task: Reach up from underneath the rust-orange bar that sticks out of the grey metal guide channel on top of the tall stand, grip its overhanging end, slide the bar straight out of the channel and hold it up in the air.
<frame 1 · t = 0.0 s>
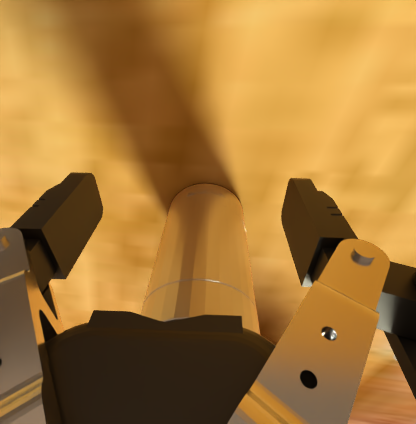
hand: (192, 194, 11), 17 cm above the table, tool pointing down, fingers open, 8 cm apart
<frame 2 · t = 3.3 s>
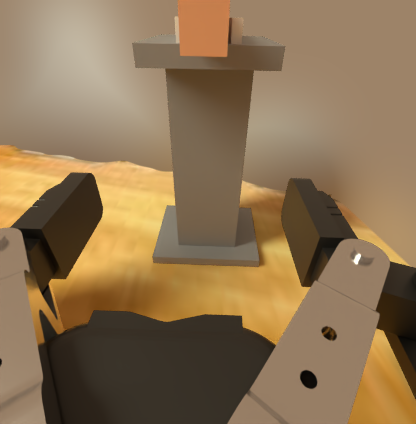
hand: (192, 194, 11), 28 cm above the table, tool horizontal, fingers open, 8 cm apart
bar: (209, 42, 25), point 32 cm above the table, touching stand
stand: (207, 240, 49), on the table
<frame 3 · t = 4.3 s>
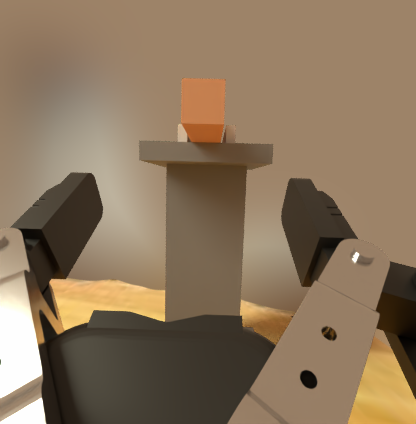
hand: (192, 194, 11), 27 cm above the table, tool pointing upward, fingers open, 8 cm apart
bar: (206, 145, 29), point 32 cm above the table, touching stand
stand: (201, 368, 39), on the table
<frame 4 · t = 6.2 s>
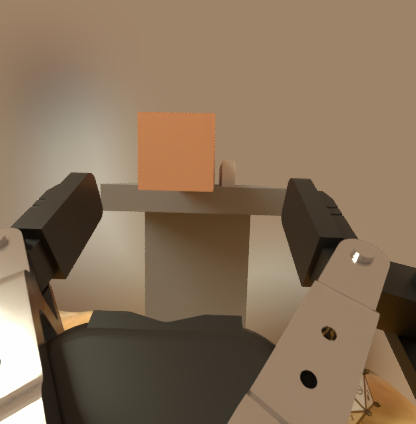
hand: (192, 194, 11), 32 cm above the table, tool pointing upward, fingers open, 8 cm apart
bar: (195, 185, 21), point 32 cm above the table, touching stand
game die: (338, 418, 37), on the table
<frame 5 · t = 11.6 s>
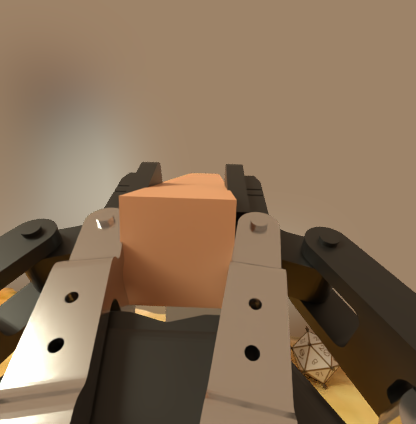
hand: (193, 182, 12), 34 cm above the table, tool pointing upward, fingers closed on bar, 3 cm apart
bar: (198, 221, 18), point 32 cm above the table, touching gripper
stand: (201, 400, 41), on the table
game die: (314, 377, 47), on the table
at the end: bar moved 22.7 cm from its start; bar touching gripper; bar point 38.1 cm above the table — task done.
